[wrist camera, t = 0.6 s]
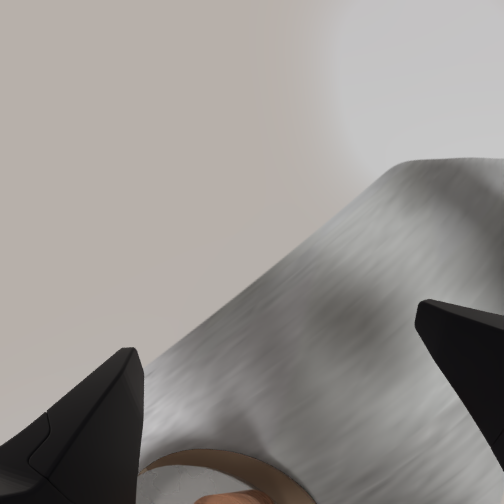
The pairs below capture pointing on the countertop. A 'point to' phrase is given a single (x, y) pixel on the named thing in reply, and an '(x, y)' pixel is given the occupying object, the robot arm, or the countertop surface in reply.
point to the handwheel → (196, 487)
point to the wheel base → (241, 472)
